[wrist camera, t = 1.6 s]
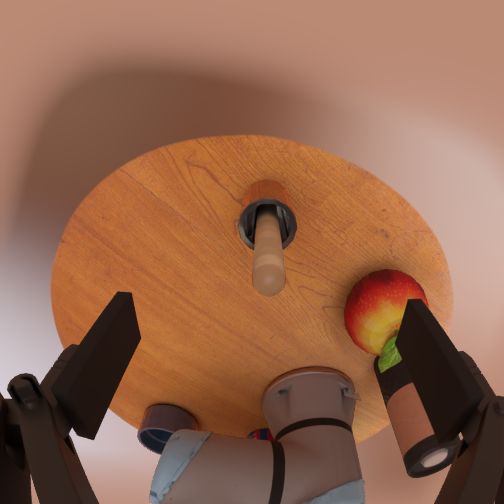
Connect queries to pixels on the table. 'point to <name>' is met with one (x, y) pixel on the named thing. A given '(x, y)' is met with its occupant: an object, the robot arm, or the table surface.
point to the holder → (267, 195)
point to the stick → (268, 253)
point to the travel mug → (412, 424)
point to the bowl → (163, 426)
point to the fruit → (380, 312)
